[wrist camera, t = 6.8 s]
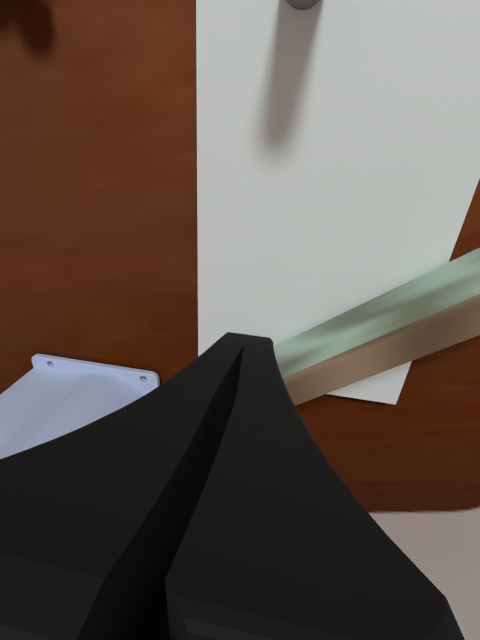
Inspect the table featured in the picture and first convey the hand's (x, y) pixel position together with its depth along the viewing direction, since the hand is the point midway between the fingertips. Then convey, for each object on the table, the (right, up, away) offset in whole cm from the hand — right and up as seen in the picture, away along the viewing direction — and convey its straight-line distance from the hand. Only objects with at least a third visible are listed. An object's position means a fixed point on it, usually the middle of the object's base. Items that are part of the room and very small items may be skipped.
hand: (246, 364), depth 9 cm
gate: (+7, +2, +7) cm, 10 cm away
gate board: (+4, +6, +7) cm, 10 cm away
